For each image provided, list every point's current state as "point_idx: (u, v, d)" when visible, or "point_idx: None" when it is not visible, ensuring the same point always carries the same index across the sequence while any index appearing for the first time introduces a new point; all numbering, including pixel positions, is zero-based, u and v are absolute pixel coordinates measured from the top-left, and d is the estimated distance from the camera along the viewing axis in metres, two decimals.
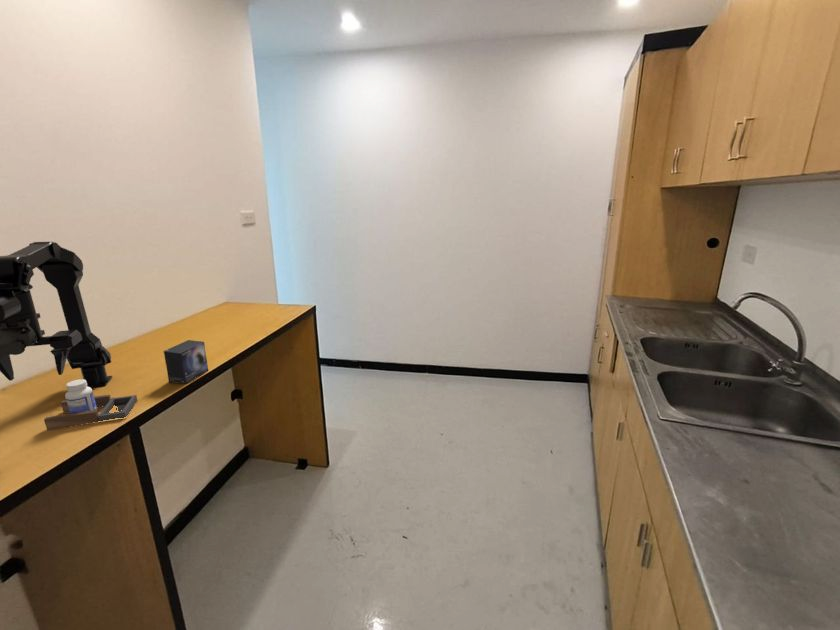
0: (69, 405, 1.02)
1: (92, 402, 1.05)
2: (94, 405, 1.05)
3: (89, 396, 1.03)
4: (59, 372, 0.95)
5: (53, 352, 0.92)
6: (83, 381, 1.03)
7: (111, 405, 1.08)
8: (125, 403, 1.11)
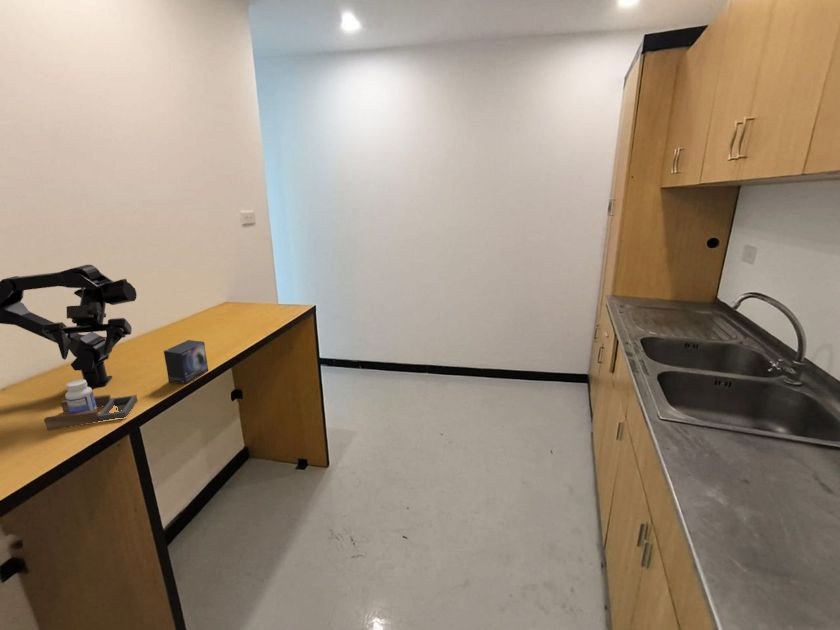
0: (69, 405, 1.02)
1: (92, 402, 1.05)
2: (94, 405, 1.05)
3: (89, 396, 1.03)
4: (104, 351, 1.10)
5: (107, 329, 1.11)
6: (83, 381, 1.03)
7: (111, 405, 1.08)
8: (125, 403, 1.11)
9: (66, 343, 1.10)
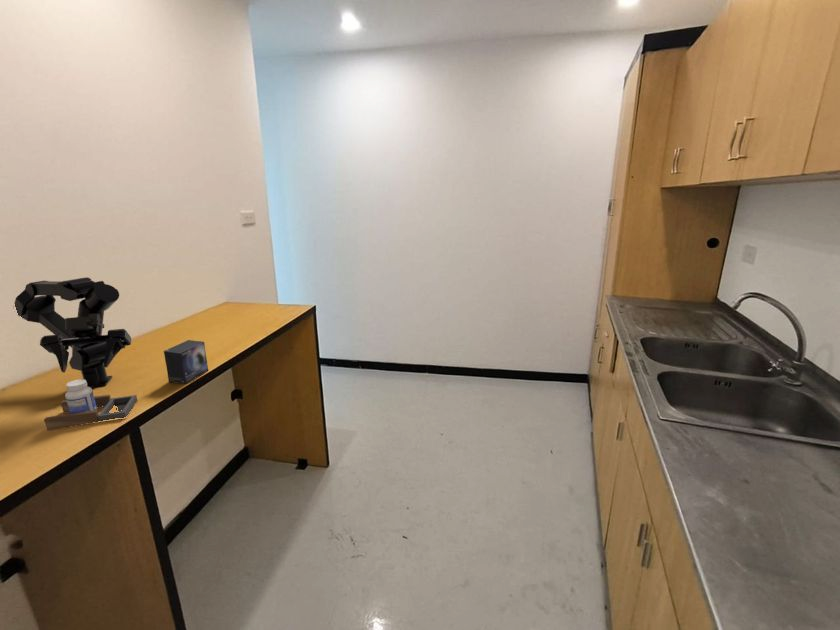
0: (69, 405, 1.02)
1: (92, 402, 1.05)
2: (94, 405, 1.05)
3: (89, 396, 1.03)
4: (105, 363, 1.08)
5: (107, 340, 1.09)
6: (83, 381, 1.03)
7: (111, 405, 1.08)
8: (125, 403, 1.11)
9: (65, 355, 1.07)
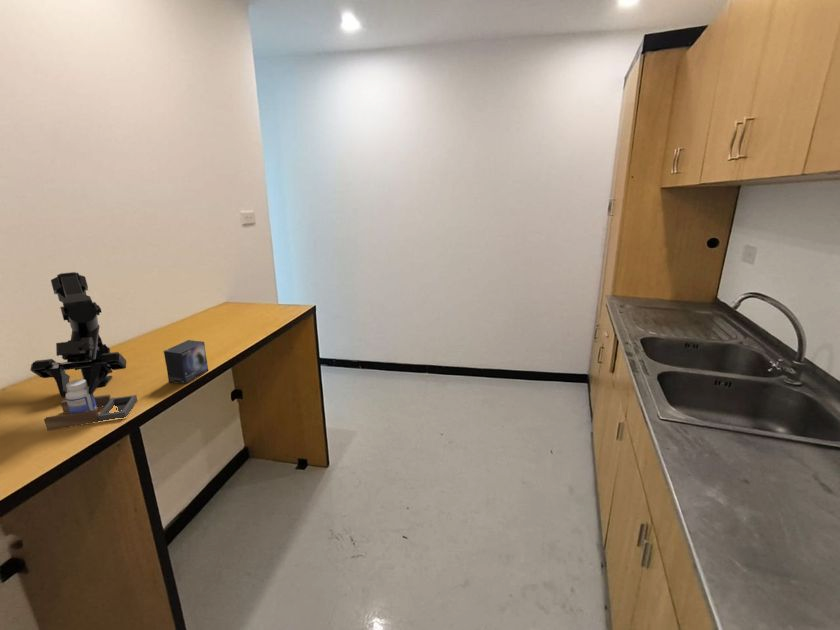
0: (69, 405, 1.02)
1: (92, 402, 1.05)
2: (94, 405, 1.05)
3: (88, 396, 1.03)
4: (90, 390, 1.03)
5: (92, 366, 1.04)
6: (83, 381, 1.03)
7: (111, 405, 1.08)
8: (125, 403, 1.11)
9: (65, 380, 1.04)
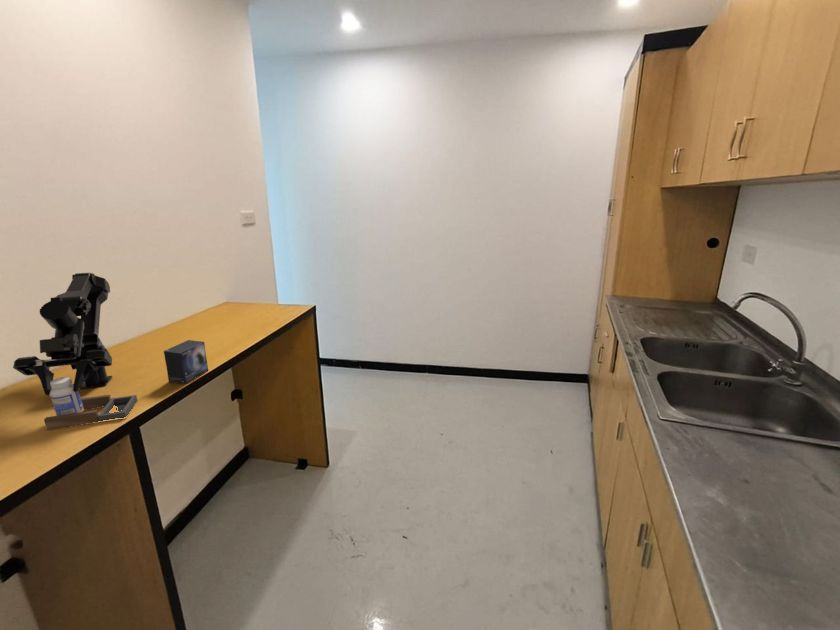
0: (54, 403, 1.00)
1: (78, 399, 1.03)
2: (80, 402, 1.04)
3: (74, 394, 1.02)
4: (75, 387, 1.02)
5: (77, 363, 1.03)
6: (67, 378, 1.02)
7: (111, 405, 1.08)
8: (125, 403, 1.11)
9: (49, 377, 1.02)
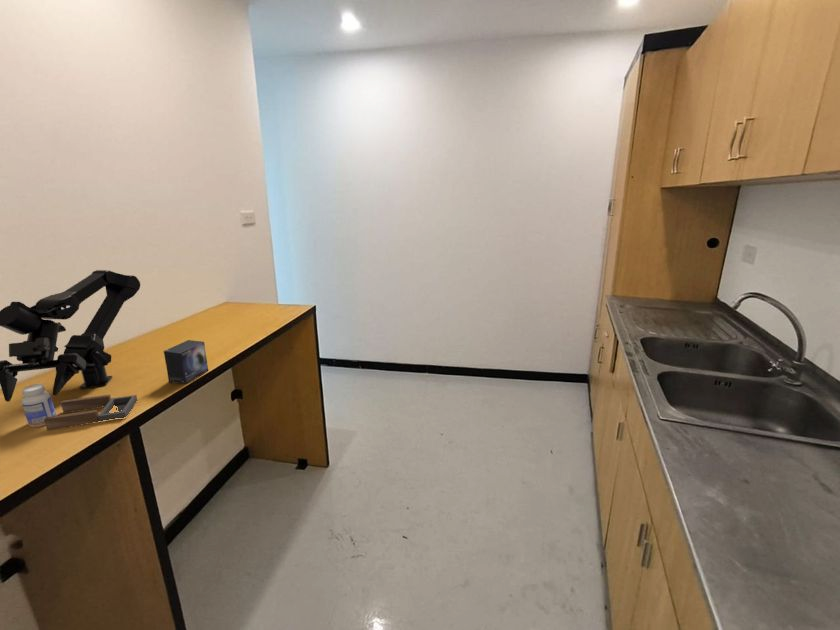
0: (25, 411, 0.99)
1: (50, 407, 1.02)
2: (52, 410, 1.02)
3: (46, 402, 1.01)
4: (54, 391, 1.00)
5: (57, 366, 1.01)
6: (40, 386, 1.00)
7: (111, 405, 1.08)
8: (125, 403, 1.11)
9: (11, 383, 1.00)
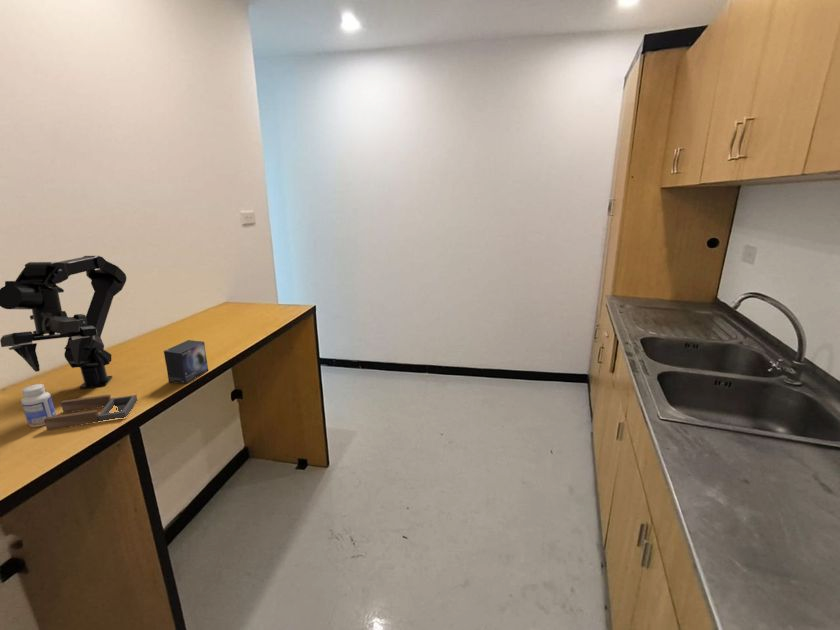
0: (25, 411, 0.99)
1: (50, 407, 1.02)
2: (52, 410, 1.02)
3: (46, 402, 1.01)
4: (79, 361, 1.10)
5: (83, 339, 1.10)
6: (40, 386, 1.00)
7: (111, 405, 1.08)
8: (125, 403, 1.11)
9: None
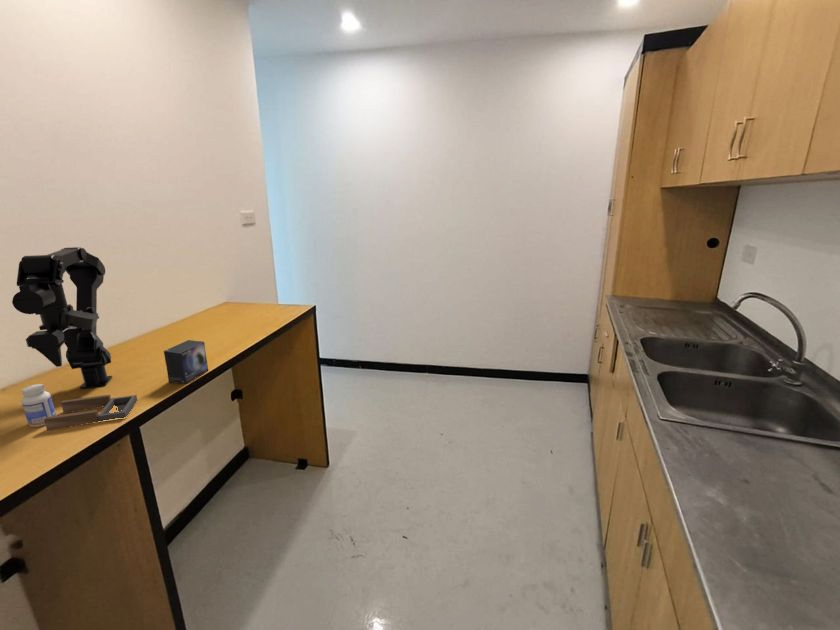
0: (25, 411, 0.99)
1: (50, 407, 1.02)
2: (52, 410, 1.02)
3: (46, 402, 1.01)
4: (77, 350, 1.13)
5: (82, 329, 1.12)
6: (40, 386, 1.00)
7: (111, 405, 1.08)
8: (125, 403, 1.11)
9: None
